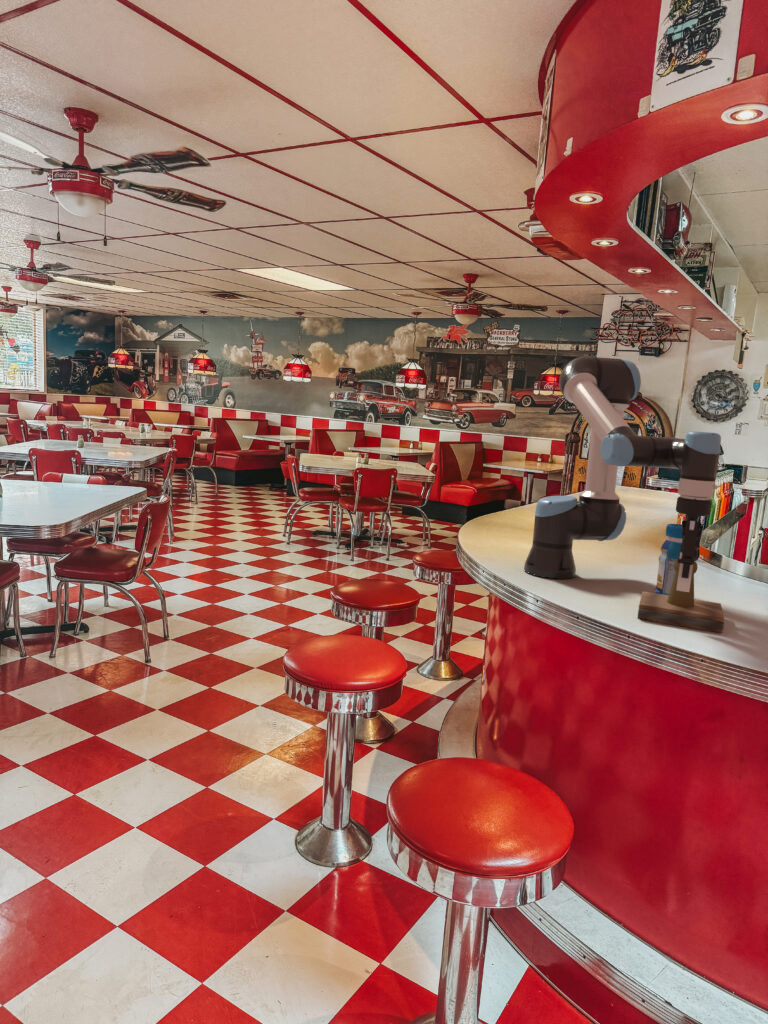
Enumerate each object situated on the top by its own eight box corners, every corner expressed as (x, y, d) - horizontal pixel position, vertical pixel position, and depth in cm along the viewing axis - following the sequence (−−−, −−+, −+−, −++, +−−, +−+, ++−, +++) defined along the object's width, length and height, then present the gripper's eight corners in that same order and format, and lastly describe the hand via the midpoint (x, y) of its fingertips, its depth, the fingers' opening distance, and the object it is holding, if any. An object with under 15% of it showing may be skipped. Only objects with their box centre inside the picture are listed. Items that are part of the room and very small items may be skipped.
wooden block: (637, 619, 152) (639, 605, 152) (640, 604, 166) (642, 591, 165) (722, 634, 145) (724, 619, 145) (718, 617, 159) (720, 603, 158)
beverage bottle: (673, 604, 168) (683, 529, 165) (647, 595, 176) (656, 523, 173) (695, 601, 172) (705, 528, 169) (668, 593, 180) (677, 522, 177)
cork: (692, 602, 157) (698, 558, 156) (695, 608, 152) (702, 563, 150) (665, 598, 159) (671, 555, 158) (668, 604, 154) (674, 560, 152)
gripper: (715, 504, 139) (701, 599, 142) (710, 494, 161) (698, 576, 165) (677, 500, 142) (664, 593, 145) (677, 491, 164) (666, 571, 168)
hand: (682, 584), depth 155 cm, fingers open, 13 cm apart
